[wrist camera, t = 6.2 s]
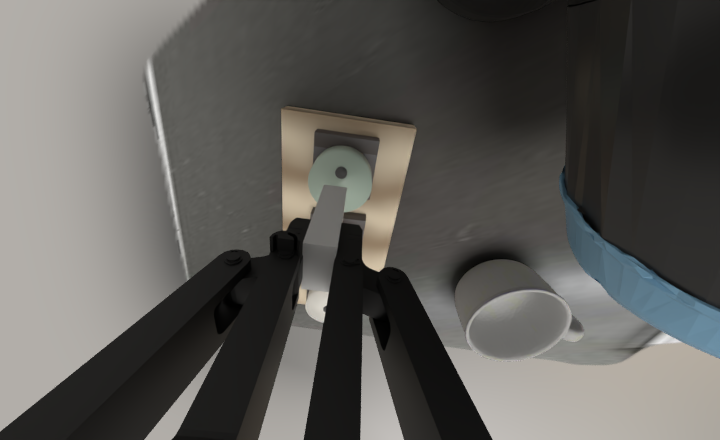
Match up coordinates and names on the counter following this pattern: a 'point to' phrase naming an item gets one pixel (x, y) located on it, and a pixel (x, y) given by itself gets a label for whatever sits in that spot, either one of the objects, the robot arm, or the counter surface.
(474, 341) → the teacup
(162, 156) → the counter surface
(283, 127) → the button board
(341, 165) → the button two dot
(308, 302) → the button one dot
